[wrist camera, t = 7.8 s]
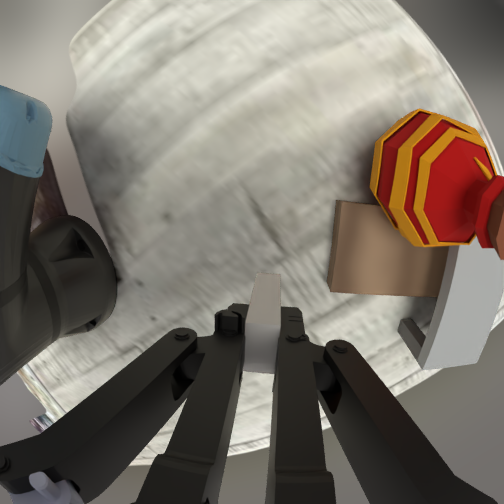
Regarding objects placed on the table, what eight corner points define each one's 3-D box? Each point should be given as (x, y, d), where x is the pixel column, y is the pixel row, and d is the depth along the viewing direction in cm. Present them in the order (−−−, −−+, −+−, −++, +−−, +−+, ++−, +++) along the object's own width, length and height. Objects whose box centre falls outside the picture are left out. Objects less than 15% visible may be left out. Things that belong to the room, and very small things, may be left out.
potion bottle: (444, 196, 23) (546, 267, 10) (362, 228, 25) (446, 337, 11) (423, 98, 18) (551, 111, 5) (330, 122, 20) (441, 138, 7)
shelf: (397, 331, 26) (422, 370, 19) (424, 185, 22) (466, 187, 15) (447, 330, 26) (476, 362, 18) (475, 197, 22) (518, 204, 14)
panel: (326, 280, 27) (330, 291, 24) (335, 199, 25) (341, 201, 22) (440, 287, 25) (453, 297, 22) (453, 217, 23) (468, 221, 20)
